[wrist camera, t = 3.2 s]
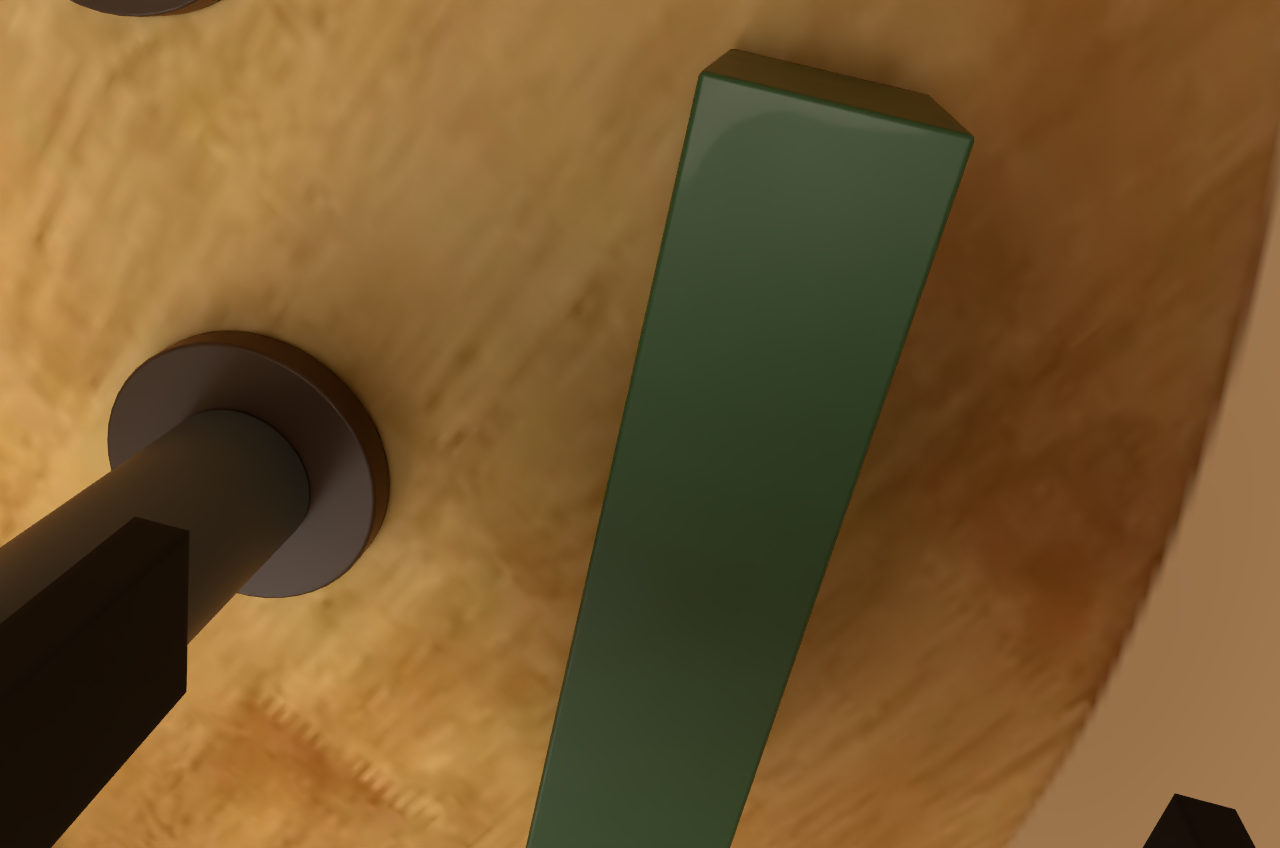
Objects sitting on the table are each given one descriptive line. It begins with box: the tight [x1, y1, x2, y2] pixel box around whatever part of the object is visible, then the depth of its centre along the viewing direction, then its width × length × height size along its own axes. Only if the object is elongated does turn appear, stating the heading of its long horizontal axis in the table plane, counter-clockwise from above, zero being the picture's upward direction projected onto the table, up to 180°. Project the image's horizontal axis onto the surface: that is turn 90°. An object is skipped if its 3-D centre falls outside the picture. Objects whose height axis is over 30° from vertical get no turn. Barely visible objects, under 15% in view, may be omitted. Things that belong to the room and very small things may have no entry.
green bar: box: [526, 49, 974, 848], centre depth 18 cm, size 4×16×5 cm, turn 168°
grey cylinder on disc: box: [0, 332, 389, 645], centre depth 18 cm, size 6×6×9 cm
